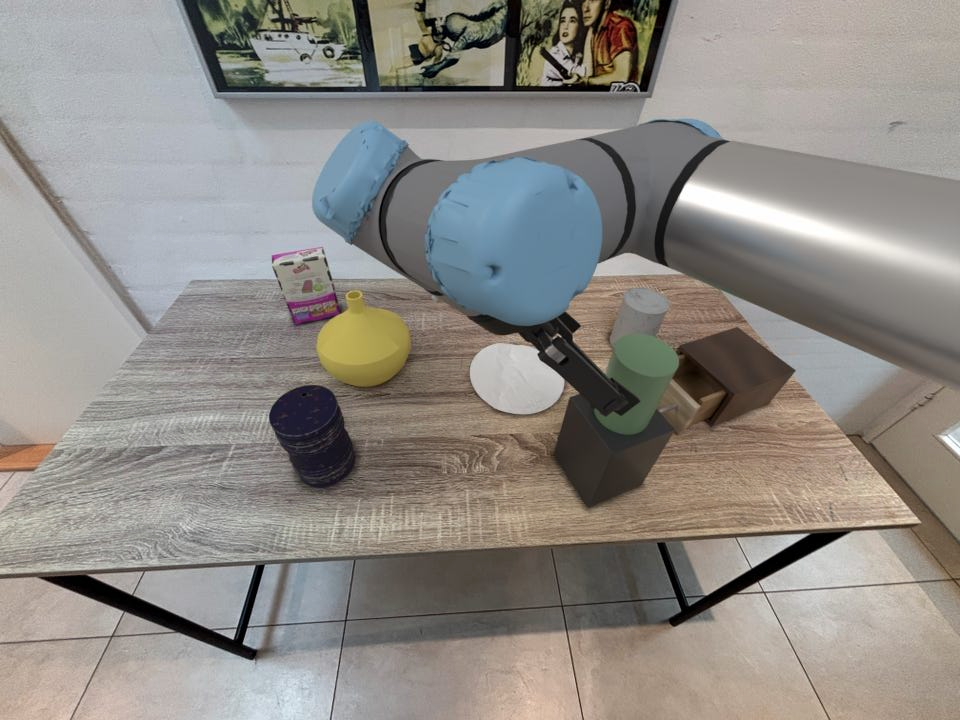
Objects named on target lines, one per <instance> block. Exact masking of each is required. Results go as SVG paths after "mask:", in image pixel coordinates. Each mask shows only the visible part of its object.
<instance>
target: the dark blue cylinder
mask: <svg viewBox="0 0 960 720" xmlns="http://www.w3.org/2000/svg"><path fill="white" fill-rule="evenodd" d="M268 421H269V425H270V426H271V428H272V430H273V433H274V435H275V437H276V439H277V441H278V443H279V444H280V446H281V448H282V449H283V450H284V452H285V451H286V452H287V454H288V457H289V461H290V463H291V466H292V468H293V470H294V471H295V473H296V474H297V476H298V477H299V479H300V481H301V482H302V483H303V484H304V485H306V486H307V487H309V488H313V489H318V490H319V489H321V490H322V489H328V488H329V489H330V488H331V487H335V486H336V485H339V484H341V483H342V482H344V481H345V480H346V479H347V478H348V477H349V476H350V474H351V473H352V472H353V470H354V467H355V465H356V462H357V457H356V452H355V450H354V444H353V442H352V438H351V437H350V434H349V432H348V431H347V429H346V428H345V426H346V425H345V424H346V423H345V418H344V414H343V411H342V409H341V406H340V405H339V401H338V399H337V396H336V394H335V393H334V391H332V390H331V389H330V388H328V387H326V386H322V385H319V384H307V385H301V386H298V387H294V388H292V389H289V390H288V391H286V392H285V393H283V394H281V396H279V397H278V398H277V399H276V400H275V402H274V403H273V404H272V406H271V408H270V410H269V414H268Z"/></svg>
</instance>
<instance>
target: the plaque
mask: <svg viewBox="0 0 960 720" xmlns="http://www.w3.org/2000/svg"><path fill="white" fill-rule="evenodd" d="M538 353H539V351H538V350H537V349H536V347H534V346H533V347H532V346H529V345H525V344H513V343H503V342H496V343H493V344H490V345H488V346H486V347H484V348H482V349H481V350H480V351H479V352H478V353H476V354H475V356H474V357H473V359H472V362H471V364H470V366H469V379H470V382H471V385H472V387H473V389H474V391H475V392H476V393H477V395H478V397H480V398H481V400H482V401H484V402H485V403H486V404H488V405H489V406H491V407H492V408H493V409H495V410H498V411H501V412H504V413H508V414H512V415H513V414H514V415H533V414H536V413H537V414H538V413H540V412H542V411H545V410H547V409H549V408H550V407H552V406H553V405H554V404H556V402H558V400H559V399H560V397H561V396H562V393H563V392H564V388H565V380H564V379H563V378H562V377H561V376H560V375H559V374H558V373H557V372H556V371H554V370H553V369H552V368H550V367H549V366H548V365H546V364H545V363H544V362H541V361H540V359H539V357H538V355H537V354H538Z"/></svg>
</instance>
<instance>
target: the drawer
mask: <svg viewBox="0 0 960 720" xmlns="http://www.w3.org/2000/svg"><path fill="white" fill-rule="evenodd" d="M678 358H679V366H678V368H677V370H676V372H675V374H674V376H673V378H672V380H671V382H670V384H669V385H668V387H667V389H666V391H665V393H664V395H663V397H662V399H661V401H660V403H659V405H658V406H657V408H656V409H657V410H658V411H659V412H660V413H661V414H662V415H663V416H664V417H665V418H666V420H667V421H668V422H669V423H670V424H671V425H672V426H673V427H674V428H675V431H674V432H676V433H677V435H678V436H680V435H683V434H685V432H686V430H687V429H688V428H689V426H692V425H695V424H697V423H700V422H702V421H705V419H707V418H710V417H712V416H714V415H715V413H716V412H717V410H718V409H719V408H720V406H721V405H722V403H723V402H724V400H725V399H726V397H727V396H728V395H729V394H728V393H727V392H726V391H725V390H724V389H723V388H722V387H721V386H719V385H718V384H717V383H716V382H715V381H714V380H713V379H712V378H710V377H709V376H708V375H707V374H706V373H705V372H704V371H703V370H701V369H700V368H699V367H698V366H697V365H696V364H695V363H694V362H692V361H691V360H690V359H689V358H688V357H687V356H686V355H685V354H682V355H679V356H678Z"/></svg>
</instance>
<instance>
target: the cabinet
mask: <svg viewBox="0 0 960 720" xmlns="http://www.w3.org/2000/svg"><path fill="white" fill-rule="evenodd" d="M675 352H676V353H677V355H678V356H679V355H682V354H685V355H686V356H687V357H688V358H689V359H690V360H691V361H692V362H694V363H695V364H696V365H697V366H698V367H699V368H700V369H701V370H703V371H704V372H705V373H706V374H707V375H708V376H709V377H710V378H712V379H713V380H714V381H715V382H716V383H717V384H718V385H719V386H721V387H722V388H723V389H724V390H725V391H726V392H727V393H728V394H729V395H728V396H727V397H726V399H725V400H724V402H723V403H722V405H721V406H720V408H719V409H718V410H717V412H716V413H715V415H714V416H712V417H710V418H707V419H705V420H704V422H705V423H707V425H708V426H709V427H710V428H713V427H715V426H718V425H720V424H723V423H726V422H728V421H731V420H732V419H735V418H737V417H739V416H742V415H745V414H747V413H750V412H752V411H754V410H757V409H760V408H762V407H764V406H766V405H769V404H770V403H771V402H772V401H773V399H775V397H776V396H777V394H778V393H779V392H780V391H781V390H782V389H783V387H784V386H785V385H786V384H787V382H788V381H789V380H790V379H791V378H792V376H793V375H794V374H795V372H796V371H797V370H796V369H795V368H793V367H792V366H790V365H789V364H788V363H787V362H785V361H784V360H783V359H781V358H780V357H779V356H777V355H776V354H775V353H773V352H772V351H771V350H769V349H768V348H767V347H766V346H764V345H763V344H762V343H760V342H759V341H757V340H756V339H754V337H752V336H750V335H749V334H748V333H747V332H745V331H744V330H742V329H741V328H740V327H738V326H735V327H732V328H729V329H726V330H723V331H719V332H717V333H714V334H710V335H707V336H704V337H701V338H698V339H695V340H692V341H689V342H686V343H682V344H680V345H678V347H677V350H675Z"/></svg>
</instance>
